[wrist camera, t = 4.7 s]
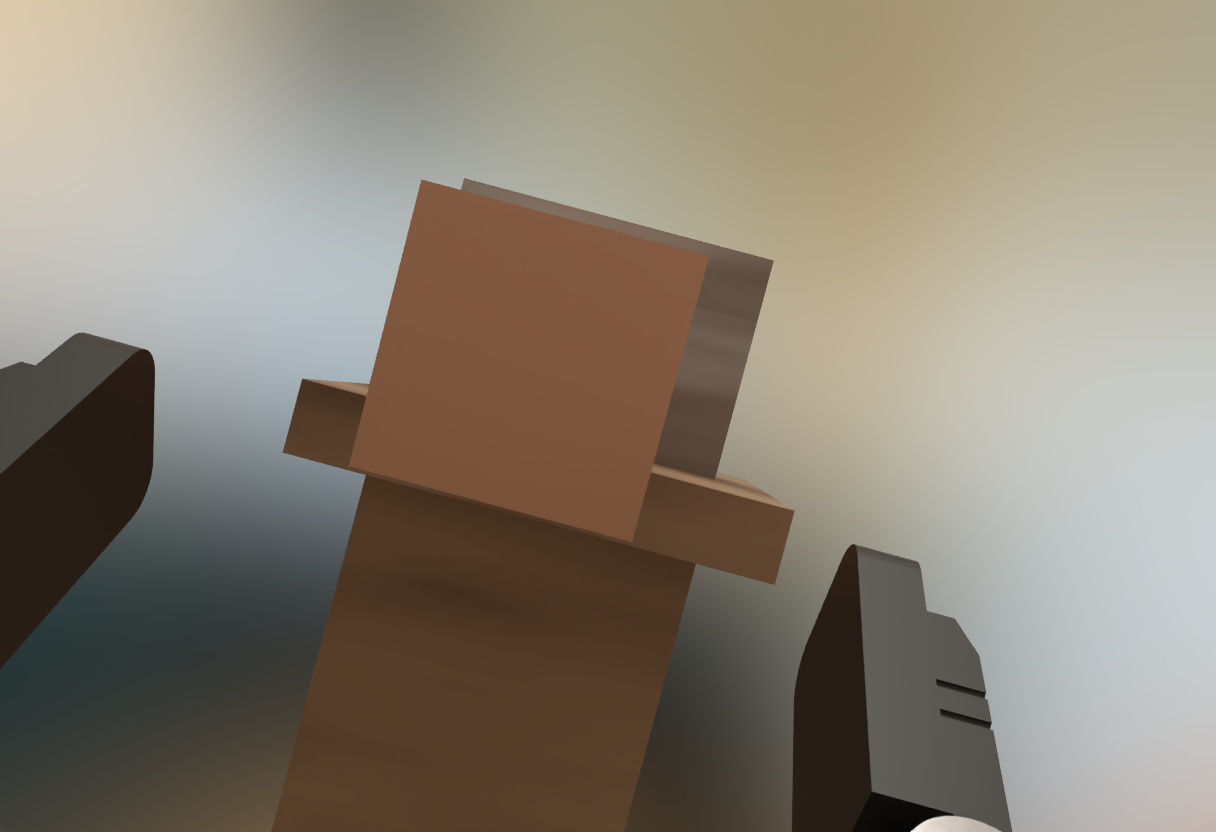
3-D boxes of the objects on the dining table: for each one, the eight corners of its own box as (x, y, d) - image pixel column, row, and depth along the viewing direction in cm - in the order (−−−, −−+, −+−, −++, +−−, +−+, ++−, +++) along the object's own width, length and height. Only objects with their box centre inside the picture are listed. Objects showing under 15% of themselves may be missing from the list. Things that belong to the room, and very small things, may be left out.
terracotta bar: (632, 542, 14) (709, 256, 14) (348, 466, 14) (421, 179, 14) (634, 441, 30) (670, 308, 30) (502, 405, 30) (537, 272, 30)
